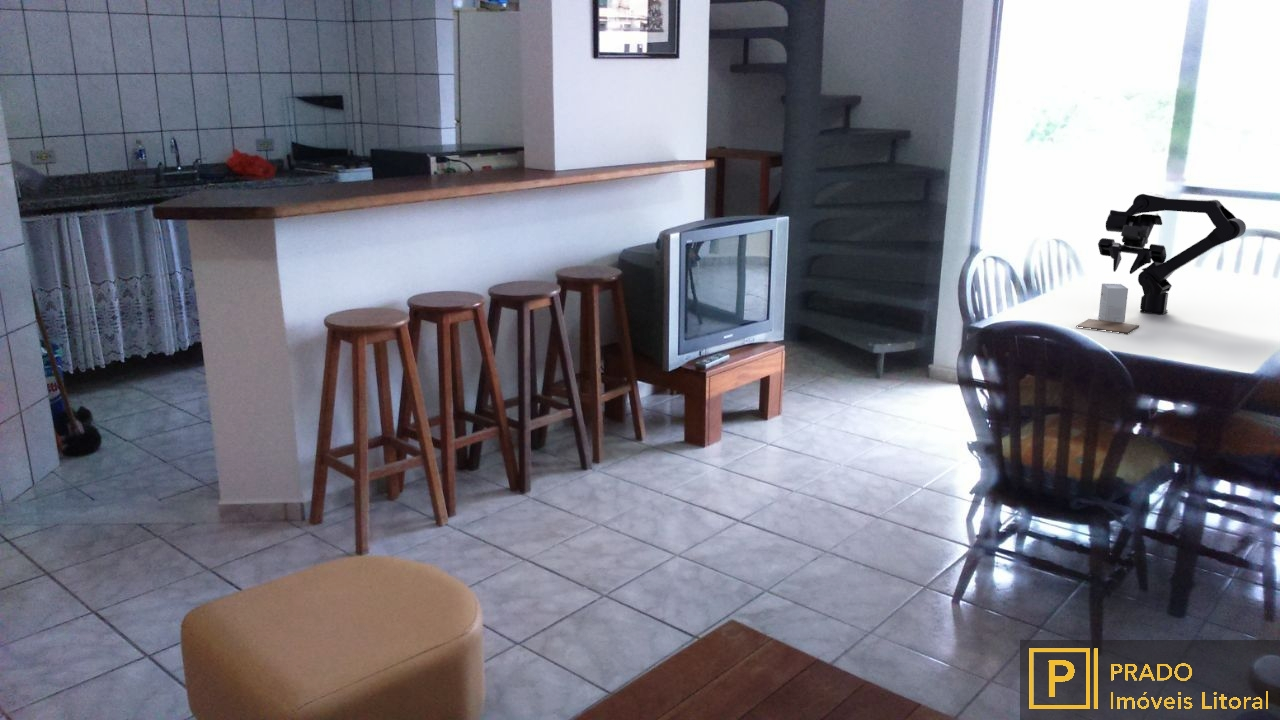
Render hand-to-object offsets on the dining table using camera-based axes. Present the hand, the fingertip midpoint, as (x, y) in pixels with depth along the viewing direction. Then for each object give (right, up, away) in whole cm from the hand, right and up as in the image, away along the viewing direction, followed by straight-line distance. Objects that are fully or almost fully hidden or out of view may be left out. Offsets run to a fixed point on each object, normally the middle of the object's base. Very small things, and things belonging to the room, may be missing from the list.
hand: (1122, 272), depth 300 cm
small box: (-5, -15, -2) cm, 16 cm away
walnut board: (-10, -17, -12) cm, 23 cm away
